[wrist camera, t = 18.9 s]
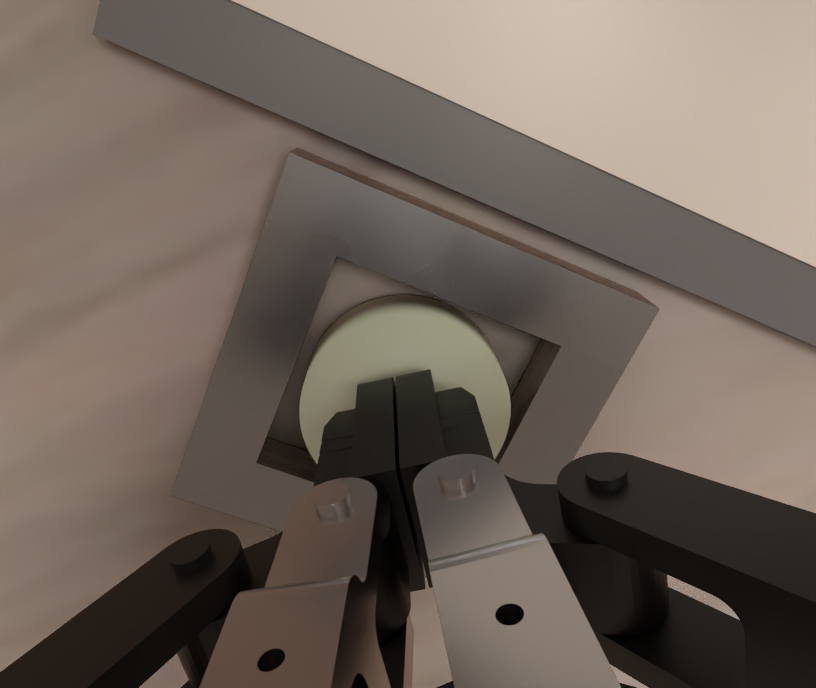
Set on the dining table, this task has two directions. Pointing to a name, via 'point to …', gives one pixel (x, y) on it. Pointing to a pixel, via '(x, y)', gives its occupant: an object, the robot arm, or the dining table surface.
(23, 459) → the dining table surface
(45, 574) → the dining table surface
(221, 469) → the button housing
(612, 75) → the clipboard
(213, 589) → the robot arm
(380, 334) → the button
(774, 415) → the dining table surface
